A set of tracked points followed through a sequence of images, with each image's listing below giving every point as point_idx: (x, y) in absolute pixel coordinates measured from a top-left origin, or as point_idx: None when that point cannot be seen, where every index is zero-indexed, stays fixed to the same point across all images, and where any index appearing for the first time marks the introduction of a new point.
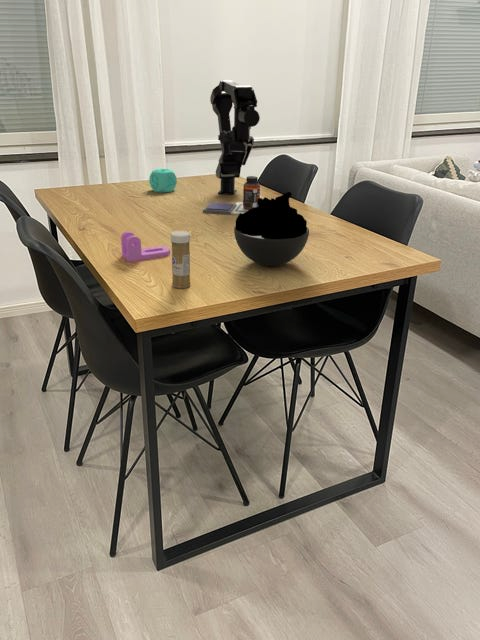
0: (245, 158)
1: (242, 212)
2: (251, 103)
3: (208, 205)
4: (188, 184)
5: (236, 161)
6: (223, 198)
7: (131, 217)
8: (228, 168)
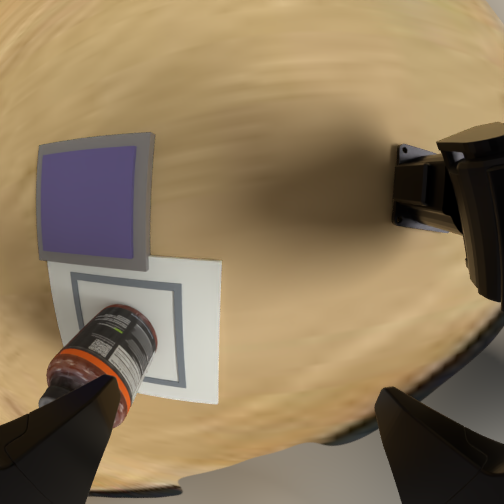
0: (399, 459)
1: (66, 302)
2: None
3: (95, 142)
4: (480, 49)
5: (38, 420)
6: (314, 177)
7: (24, 5)
8: (473, 211)
